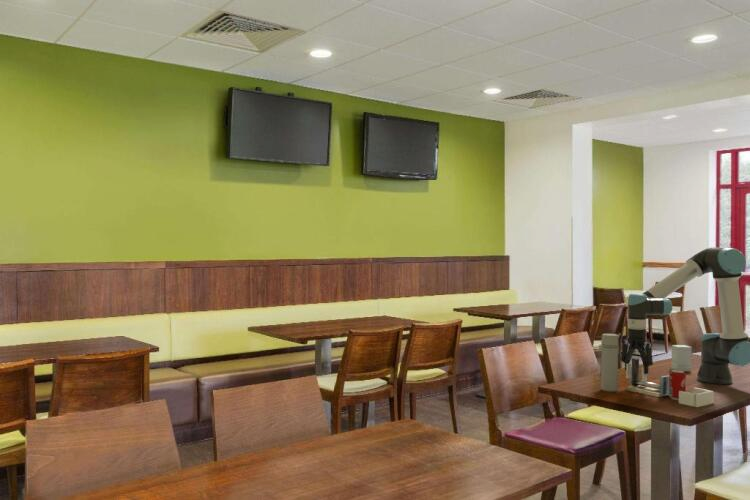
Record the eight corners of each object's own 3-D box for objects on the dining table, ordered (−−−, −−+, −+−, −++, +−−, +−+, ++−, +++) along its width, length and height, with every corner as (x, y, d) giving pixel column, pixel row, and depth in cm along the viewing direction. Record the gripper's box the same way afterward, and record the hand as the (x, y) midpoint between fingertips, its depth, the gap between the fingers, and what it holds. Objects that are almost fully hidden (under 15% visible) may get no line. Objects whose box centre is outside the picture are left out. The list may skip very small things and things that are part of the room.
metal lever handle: (625, 387, 292) (625, 358, 292) (634, 385, 296) (635, 357, 296) (663, 396, 277) (663, 365, 277) (672, 394, 281) (672, 363, 281)
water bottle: (618, 389, 292) (619, 334, 292) (617, 393, 285) (618, 336, 285) (597, 387, 296) (598, 332, 296) (595, 391, 289) (596, 334, 289)
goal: (695, 399, 276) (695, 387, 276) (713, 403, 269) (713, 391, 269) (678, 403, 269) (678, 391, 269) (697, 407, 262) (697, 394, 262)
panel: (636, 387, 296) (636, 383, 296) (669, 394, 283) (669, 390, 283) (625, 389, 292) (625, 385, 292) (658, 397, 278) (658, 392, 278)
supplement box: (691, 371, 336) (692, 347, 336) (677, 371, 336) (677, 346, 336) (685, 368, 343) (685, 344, 343) (670, 368, 343) (671, 344, 343)
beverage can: (687, 401, 272) (687, 372, 272) (671, 400, 273) (671, 371, 273) (683, 397, 278) (683, 369, 278) (667, 396, 279) (667, 369, 279)
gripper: (612, 326, 298) (611, 376, 298) (652, 331, 281) (651, 384, 281) (622, 325, 302) (621, 374, 302) (662, 330, 286) (661, 382, 286)
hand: (636, 379), depth 292 cm, fingers open, 7 cm apart
